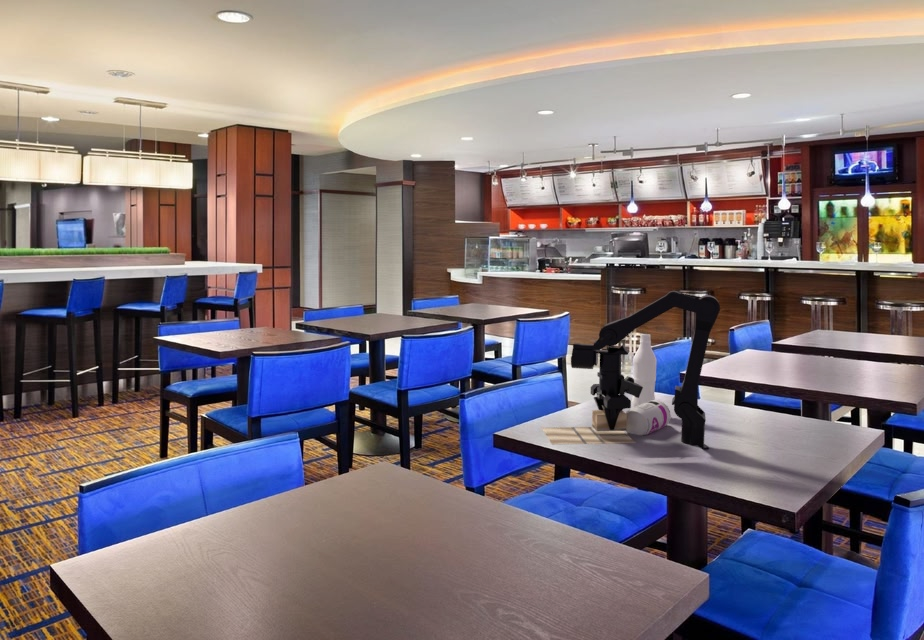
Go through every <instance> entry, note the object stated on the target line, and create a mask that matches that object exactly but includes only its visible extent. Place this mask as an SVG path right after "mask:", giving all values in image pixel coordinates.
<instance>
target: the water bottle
mask: <svg viewBox="0 0 924 640" xmlns="http://www.w3.org/2000/svg"><path fill="white" fill-rule="evenodd" d="M651 336H652V335H651V334H649V333H648V334H647V333H641V334H640V338H639V346H638V349H637V351H635V354H634V356H633V359H632V377H631V378H633V379H634V383H637V384H639V385H640V386H642V387H643V389H642V391H641V394H640V396H639V398H637V397H635V396H633V395H632V399H631V408H634V407H636V406H639V405H641V404H644V403H646V402H649V401H651V400H656V398H655V397H656V396H655V387H656V383H657V382H656V381H657V364H658V360H657V357H656V355H655V353H654V351H653V348H652V345H651V343H652V340H651Z"/></svg>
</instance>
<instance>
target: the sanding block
mask: <svg viewBox="0 0 924 640" xmlns="http://www.w3.org/2000/svg"><path fill="white" fill-rule="evenodd" d="M626 424H627V414H626V412H625V411H623V410H622V411H620V413H619V416H618V419H617V422H616V425H615V428H614V430H610V429H609V426H608V423H607V420H606V417H605V414H604V411H603V410H599V409H595V410H594V409H592V421H591V427H593V428H594V429H595V430H596V431H624V432H626Z"/></svg>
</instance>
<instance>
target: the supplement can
mask: <svg viewBox="0 0 924 640" xmlns="http://www.w3.org/2000/svg"><path fill="white" fill-rule="evenodd" d="M625 413H626V414H627V424H626V431H625V433H626V434H632V435H637V436H648V435H649V434H652V433H654V432H655V431H659V430H660V429H663V428H664V427H666V426H668V424H669V422H670V421H671V415H672V414H671V410H670V408H669V406H668V405H667V404H666V403H665V402H663V401H662V400H660V399H655V400H651V401H649V402H646V403H644V404H641V405H639V406H636V407H634V408H632V407H631V408H628V410H626V412H625Z"/></svg>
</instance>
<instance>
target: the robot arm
mask: <svg viewBox="0 0 924 640" xmlns="http://www.w3.org/2000/svg"><path fill="white" fill-rule="evenodd" d="M719 302H720V301H718V299H717V298H716V297H715V296H714V295H710V294H705V295H703V296H702V295H701V296H698V295H693V294H687V293H683V292H679V291H676V290H672V291H669V292H667V294H666V295H664V296H662V297H660V298H658V299H657V300H655V301H654V302H652V303H650V304H647V305H646V306H645V307H643V308H640V309H639V310H638V311H635V312H634V313H632V314H630V315H628V316H626V317H623V318H620V319H617V320H614V321H611V322H608V323H606V324H605V325H604V326H602V328H601V329H600V330H599V333H598V337H599V338H598V339H597V340H595V341H594V342H593V344H587V343H586V344H585V343H584V344H583V343H579V342H574V343H573V345H572V351H571V356H570V367H571V369H579V370H580V369H583V370H593V369H594V367H595V366H596V367H597V366H598V364H599V372H597V374H596V376H597V377H598V378H599V379H598V381H599V383H593V384H592V385H591V386H590V395H592V396H594V397H593V400H594V401H595V404H596V405H595V406H597V410H603V411H604V414H605V417H606V420H607V423H608V426H609V429H610V430H614V428H615V425H616V422H617V419H618V416H619V413H620V411H623V410H625V409H631V408H632V399H630V398H629V397H628V396H626V395H625V394H628V395H631V396H632V397H633V396H635V397H637V398H639V396H640V394H641V391H642V389H643V387H642V386H640V385H639V384H637V383H634V379H633V378H632V377H631V376H629V375H628V376H626V377H625V376H624V375H623V374H622V356H624V355H625V356H627V355H629V354H630V351H629V349H628V348H626V346H625V345H624V344H622V345H621V346H620V347H614V346H616V345H618V344H619V343H620V342H621V341H623V340H624V339H625V338H626V337H628V336H629V335H630V334H631V333H632V332H633V331H635V329H637V328H639V327H642V326H643V325H645V324H646V323H648V322H650V321H652V320H653V319H656V318H657V317H659V316H661V315H662V314H664V313H666V312H668V311H670V310H671V309H674V308H678V309H681V310H684V311H686V312H687V311H688V312H691V313H694V314H695V315H694V316H695V317H694V319H695V320H694V333H693V337H692V342H691V345H690V351H689V356H688V359H687V365H686V370H685V374H684V379H683V381H682V384H681V385H680V386H679V385H675V387H674V396H673V397H672V400H671V405H672V406H673V411H674V413H675V415H676V416H677V417H678V418H680V419H681V433H680V437H681V438H680V442H681V443H683V444H685V445H688V446H691V447H693V446H694V447H695V446H697V447H699V448H700V449H702V450H709V449H710V447H709V446H708V445H707V444H706V443H705V431H706V430H705V429H706V428H705V427H706V420H707V419H706V412H705V411H704V410H703V409H702V408H701V407H700V405H698V404H699V403H698V401H699V383H700V378H701V373H702V369H703V365H704V361H705V360H704V359H705V356H706V351H707V347H708V342H709V337H710V334H711V332H712V329H713V328H714V325H715V323H716V320H717V318H718V316H719V314H720V311H721V305H720V303H719ZM605 347H608V348H607V349H604V348H605Z"/></svg>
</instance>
